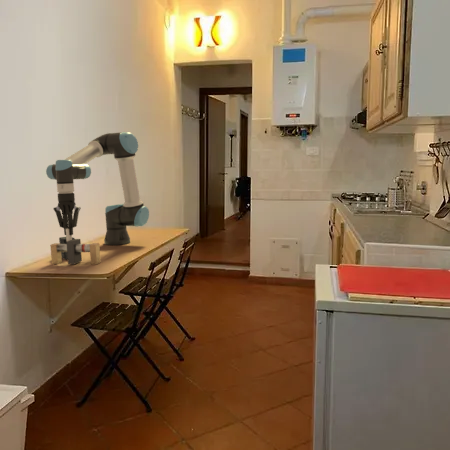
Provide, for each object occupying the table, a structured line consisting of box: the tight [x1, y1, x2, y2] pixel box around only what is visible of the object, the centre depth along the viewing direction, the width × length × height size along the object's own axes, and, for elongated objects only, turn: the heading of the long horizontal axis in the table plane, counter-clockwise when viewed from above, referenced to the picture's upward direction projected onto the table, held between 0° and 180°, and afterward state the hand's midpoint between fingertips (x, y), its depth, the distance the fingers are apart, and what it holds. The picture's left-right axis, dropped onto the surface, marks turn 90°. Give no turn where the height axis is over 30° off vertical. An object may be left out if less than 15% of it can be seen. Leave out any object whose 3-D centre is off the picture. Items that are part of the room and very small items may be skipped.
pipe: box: [50, 242, 102, 265], centre depth 225 cm, size 23×4×10 cm, turn 81°
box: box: [58, 236, 75, 260], centre depth 240 cm, size 8×6×11 cm
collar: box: [67, 238, 83, 265], centre depth 225 cm, size 3×8×11 cm, turn 170°
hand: (69, 241), depth 225 cm, fingers closed
